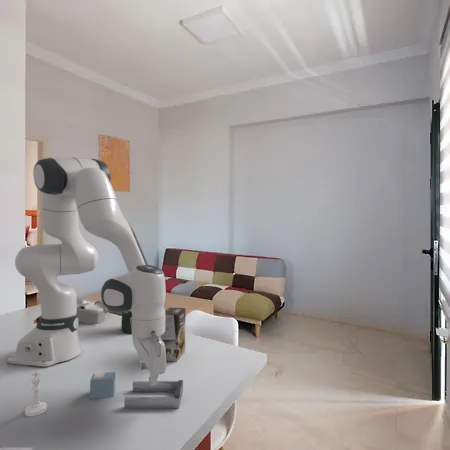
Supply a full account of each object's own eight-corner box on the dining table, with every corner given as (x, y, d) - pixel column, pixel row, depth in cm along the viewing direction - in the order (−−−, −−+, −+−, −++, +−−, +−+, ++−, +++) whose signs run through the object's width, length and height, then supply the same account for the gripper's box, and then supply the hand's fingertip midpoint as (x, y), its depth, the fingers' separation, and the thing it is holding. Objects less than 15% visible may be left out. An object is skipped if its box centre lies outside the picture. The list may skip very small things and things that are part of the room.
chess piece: (31, 405, 82) (30, 366, 82) (50, 404, 83) (50, 366, 83) (20, 416, 78) (20, 376, 77) (41, 416, 78) (41, 375, 78)
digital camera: (115, 326, 153) (120, 307, 152) (89, 334, 141) (94, 313, 140) (93, 312, 161) (98, 293, 160) (68, 317, 149) (72, 298, 148)
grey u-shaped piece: (124, 408, 81) (124, 396, 81) (133, 389, 90) (133, 378, 90) (179, 408, 81) (179, 395, 81) (183, 389, 90) (183, 378, 90)
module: (90, 399, 86) (90, 378, 85) (93, 391, 89) (93, 371, 89) (113, 396, 87) (113, 376, 87) (115, 389, 91) (115, 369, 91)
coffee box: (177, 362, 108) (177, 314, 107) (159, 360, 109) (159, 313, 109) (186, 351, 117) (186, 307, 116) (169, 349, 118) (169, 306, 118)
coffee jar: (147, 330, 138) (147, 288, 137) (132, 336, 131) (132, 291, 131) (133, 326, 143) (133, 285, 143) (118, 331, 137) (118, 288, 137)
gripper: (172, 337, 78) (172, 392, 79) (150, 313, 96) (149, 358, 97) (147, 341, 75) (146, 398, 76) (128, 316, 93) (128, 362, 94)
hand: (148, 376), depth 86 cm, fingers open, 8 cm apart
